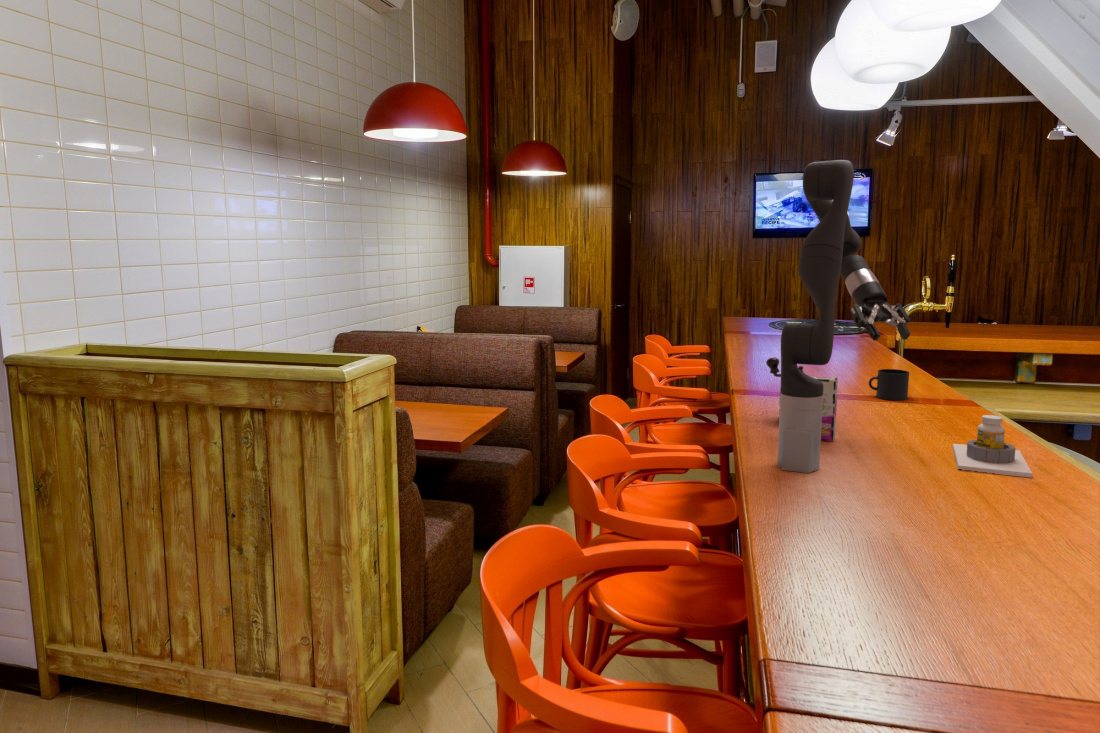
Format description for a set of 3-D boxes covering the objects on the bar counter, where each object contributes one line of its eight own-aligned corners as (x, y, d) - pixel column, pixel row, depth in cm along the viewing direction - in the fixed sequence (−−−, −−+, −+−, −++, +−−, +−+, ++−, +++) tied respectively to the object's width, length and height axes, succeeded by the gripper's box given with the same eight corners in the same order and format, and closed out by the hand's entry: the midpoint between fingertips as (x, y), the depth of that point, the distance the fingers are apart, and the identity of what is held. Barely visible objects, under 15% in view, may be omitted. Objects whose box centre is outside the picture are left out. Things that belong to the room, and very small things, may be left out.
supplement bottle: (1008, 458, 166) (1011, 418, 164) (989, 461, 164) (993, 420, 163) (988, 452, 171) (991, 413, 169) (970, 454, 169) (973, 415, 168)
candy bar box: (835, 437, 190) (838, 377, 187) (833, 442, 185) (836, 380, 183) (791, 433, 195) (794, 374, 192) (788, 437, 191) (791, 377, 188)
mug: (866, 394, 245) (868, 367, 244) (905, 396, 241) (907, 369, 239) (868, 399, 236) (870, 372, 235) (909, 401, 232) (911, 374, 231)
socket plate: (1031, 477, 156) (1033, 460, 155) (958, 469, 162) (959, 452, 161) (1018, 453, 173) (1020, 437, 173) (952, 447, 179) (954, 432, 179)
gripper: (848, 280, 184) (875, 329, 174) (896, 279, 187) (925, 327, 177) (834, 300, 189) (859, 348, 180) (881, 299, 193) (908, 346, 183)
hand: (892, 338), depth 179 cm, fingers open, 8 cm apart
